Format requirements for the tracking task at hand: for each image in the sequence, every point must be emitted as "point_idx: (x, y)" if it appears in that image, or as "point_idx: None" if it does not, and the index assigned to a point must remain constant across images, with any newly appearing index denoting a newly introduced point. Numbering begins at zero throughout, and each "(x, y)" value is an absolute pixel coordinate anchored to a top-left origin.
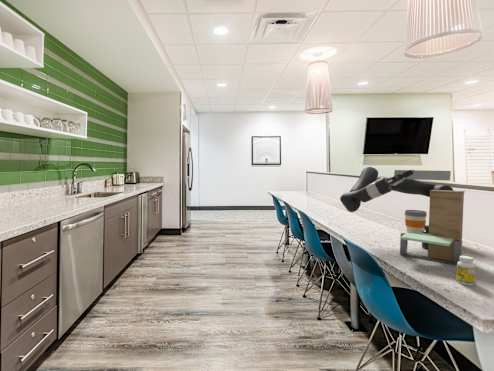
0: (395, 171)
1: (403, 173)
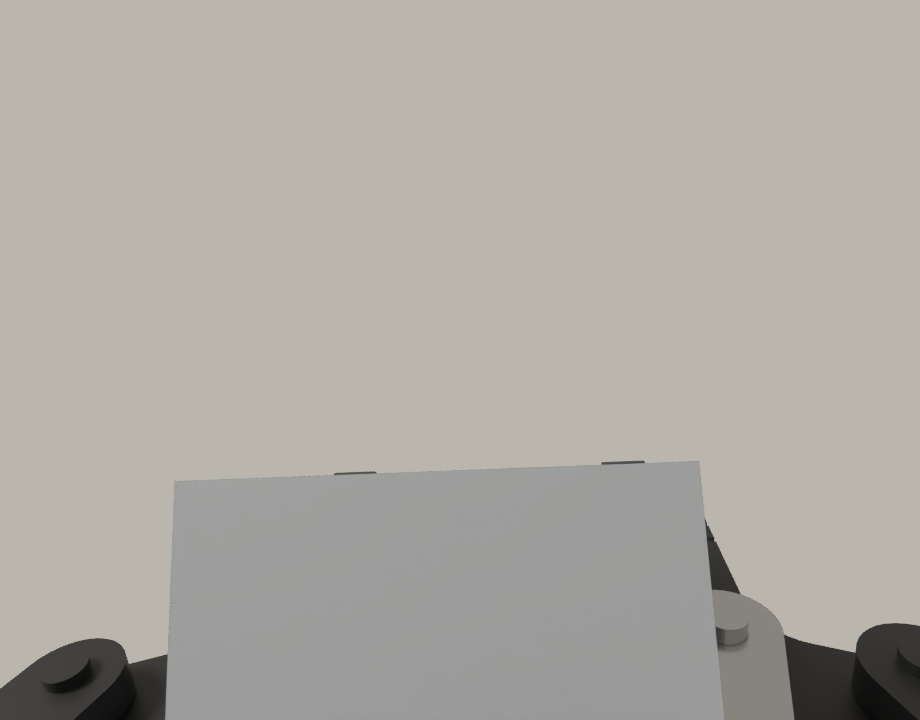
0: (699, 550)
1: None
